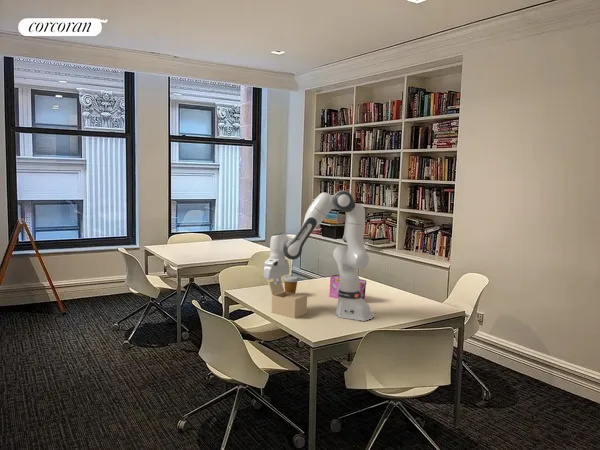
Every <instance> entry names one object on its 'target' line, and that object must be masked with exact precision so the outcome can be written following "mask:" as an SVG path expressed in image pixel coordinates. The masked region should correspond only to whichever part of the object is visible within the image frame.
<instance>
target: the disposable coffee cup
mask: <svg viewBox="0 0 600 450" xmlns="http://www.w3.org/2000/svg"><path fill="white" fill-rule="evenodd" d="M298 281H299V277H298V276H294V275H284V276H283V282H284V283H283V284H284V292H289V293H293V294H295V293H296V292H297V287H298V286H297V285H298ZM296 294H297V293H296Z"/></svg>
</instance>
